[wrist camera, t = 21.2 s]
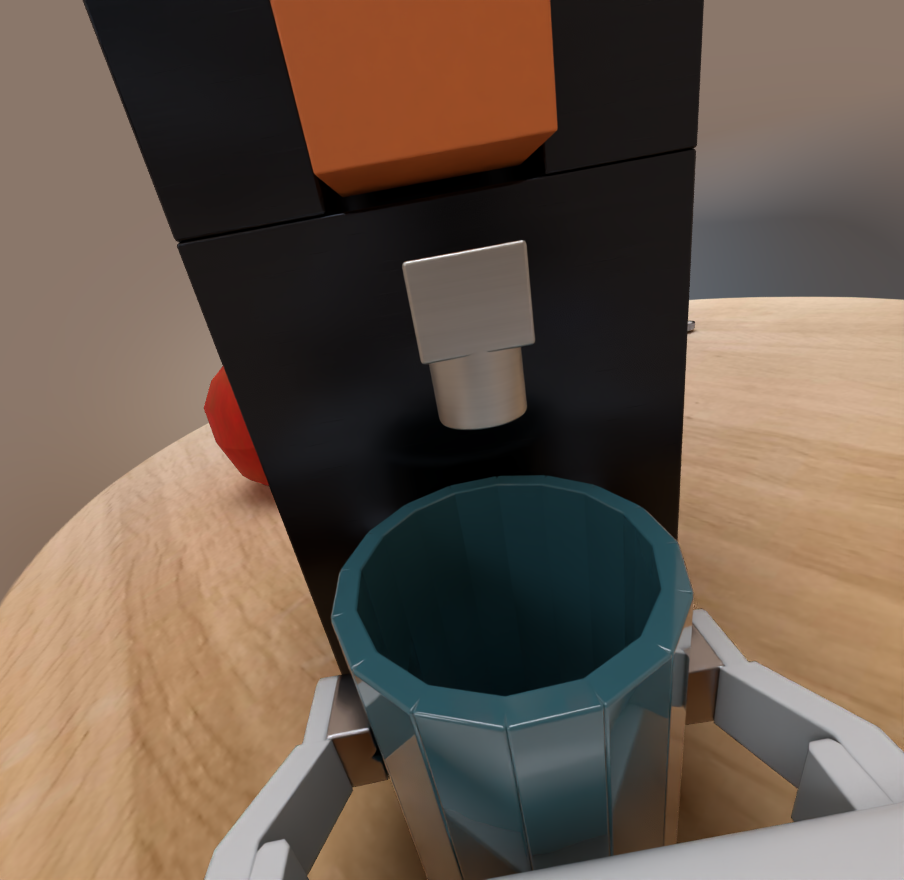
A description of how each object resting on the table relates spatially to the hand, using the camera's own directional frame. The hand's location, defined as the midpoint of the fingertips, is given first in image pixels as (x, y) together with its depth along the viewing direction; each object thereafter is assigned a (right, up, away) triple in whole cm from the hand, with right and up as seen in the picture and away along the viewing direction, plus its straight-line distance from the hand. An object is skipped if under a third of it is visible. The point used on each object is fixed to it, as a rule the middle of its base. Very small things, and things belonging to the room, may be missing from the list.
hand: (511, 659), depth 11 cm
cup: (+1, -5, +1) cm, 5 cm away
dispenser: (+1, -2, +7) cm, 8 cm away
